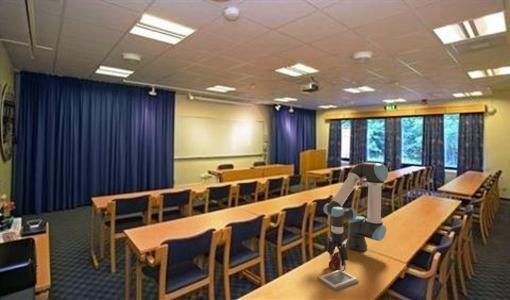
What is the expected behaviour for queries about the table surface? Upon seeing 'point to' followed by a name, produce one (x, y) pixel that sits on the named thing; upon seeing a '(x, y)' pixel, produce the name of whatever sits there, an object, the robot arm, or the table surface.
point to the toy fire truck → (336, 261)
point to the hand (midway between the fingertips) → (336, 267)
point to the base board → (338, 280)
